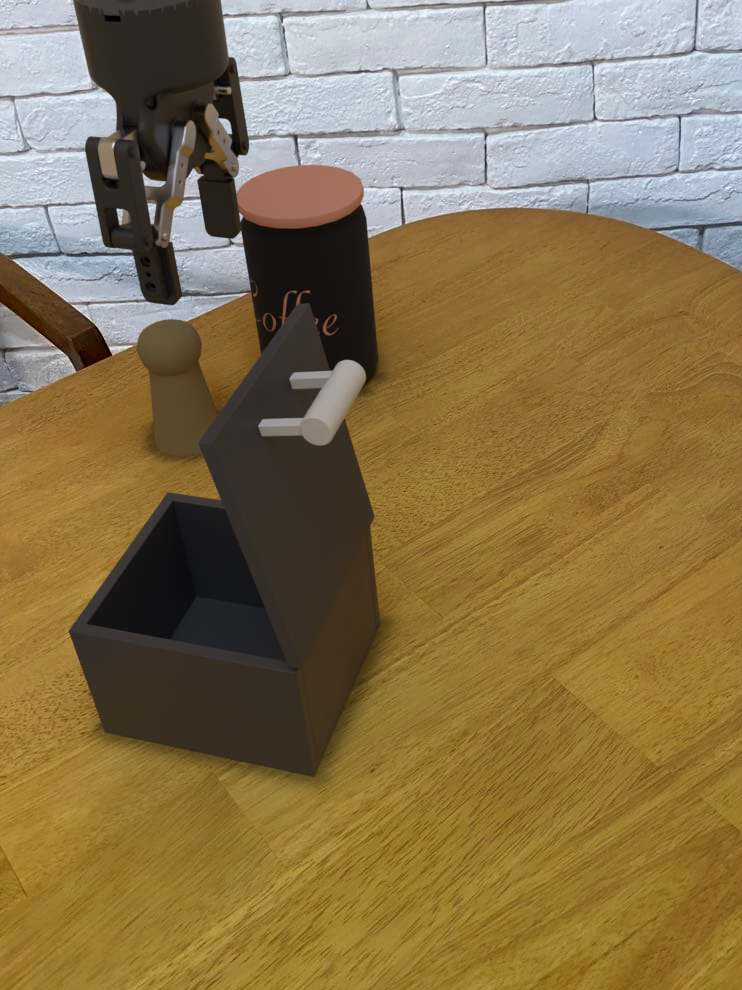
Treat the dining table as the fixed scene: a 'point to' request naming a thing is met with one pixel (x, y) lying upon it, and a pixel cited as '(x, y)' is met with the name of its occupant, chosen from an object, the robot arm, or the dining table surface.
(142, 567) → the dark brown wooden box
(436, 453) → the dining table surface
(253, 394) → the lid
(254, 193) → the coffee jar
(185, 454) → the tan peg doll
